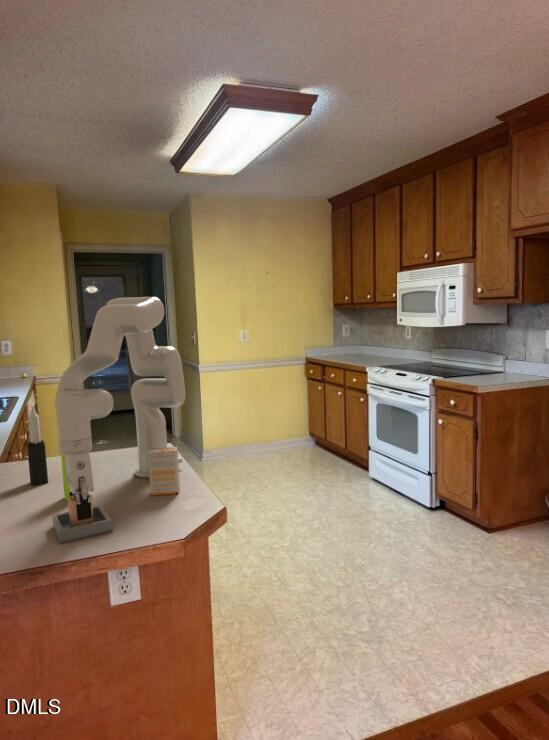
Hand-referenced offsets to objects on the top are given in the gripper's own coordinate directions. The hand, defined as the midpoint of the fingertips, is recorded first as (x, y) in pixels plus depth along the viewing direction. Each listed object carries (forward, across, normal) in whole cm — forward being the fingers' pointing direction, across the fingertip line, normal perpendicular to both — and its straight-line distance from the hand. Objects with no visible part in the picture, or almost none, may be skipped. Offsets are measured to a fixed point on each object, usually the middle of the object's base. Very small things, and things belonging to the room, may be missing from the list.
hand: (80, 512), depth 128 cm
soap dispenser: (+4, +26, -3) cm, 27 cm away
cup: (+4, 0, 0) cm, 4 cm away
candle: (+4, +47, +5) cm, 47 cm away
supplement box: (+4, +14, -26) cm, 30 cm away
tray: (+4, 0, 0) cm, 4 cm away
